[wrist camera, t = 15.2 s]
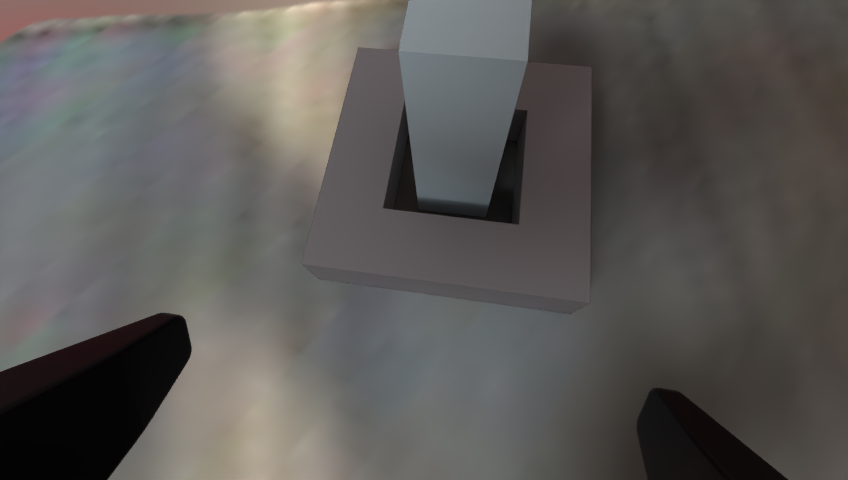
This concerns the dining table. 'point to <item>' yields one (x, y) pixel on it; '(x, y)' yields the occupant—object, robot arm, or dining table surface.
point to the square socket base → (452, 236)
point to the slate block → (461, 95)
